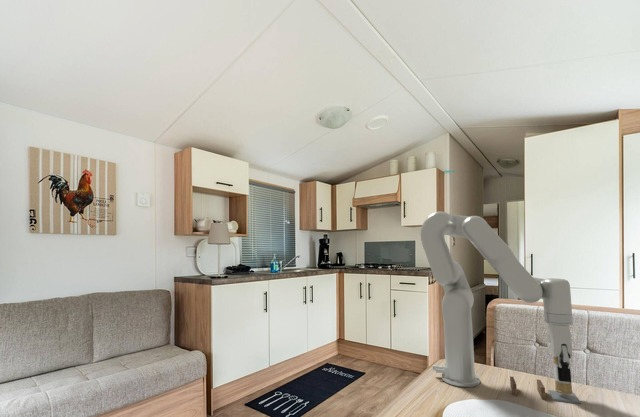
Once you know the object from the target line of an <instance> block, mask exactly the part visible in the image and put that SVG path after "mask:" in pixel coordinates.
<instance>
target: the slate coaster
mask: <svg viewBox="0 0 640 417" xmlns="http://www.w3.org/2000/svg"><path fill="white" fill-rule="evenodd" d="M547 390H548V391H547V392H548V394H549V395H550V397H551V398H552V401H554V402H561V403H568V404H577V405H582V402H581V400H580V399H579V397H577V395H576V393H574V392H573V393H572V394H569V395H566V394H561V393H559V392H557V391H556V390H551V389H547Z"/></svg>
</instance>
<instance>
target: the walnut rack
mask: <svg viewBox="0 0 640 417" xmlns="http://www.w3.org/2000/svg"><path fill="white" fill-rule="evenodd" d="M509 381H510V382H509V384H510V389H511V392H512V395H513V396H514V397H515V396H516V397H517V396H518V392H517V383H516V380H515V377H514V376H509ZM536 390H537V393H538V395H539V396H540V398H541V400H545V401H546V400H547V399H546V387H545V385H544V383H543V382H542V380H541V379H539V378H537V379H536Z"/></svg>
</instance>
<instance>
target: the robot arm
mask: <svg viewBox="0 0 640 417" xmlns="http://www.w3.org/2000/svg"><path fill="white" fill-rule="evenodd" d="M445 236H449V237H450V236H452V237H456V238H457V237H458V238H463V239H467V240H468V241H469V242H470V243H471V244H472V246H474V248H475V249H476V250H477V251H478V252H479V253H480V255H481V256H482V257H483V258H484V260H486V262H487V263H488V265H489V266H490V267H491V268H492V269H493V270H494V271H495V272H496V273H497V274H498V276H499V277H500V278H501V279H502V280H503V282H504V284H506V286H507V287H509V289H510V290H511V291H512V292H513V293H514V294H515V295H516V297H517V298H518V299H519V300H521V301H522V302H524V303H527V304H533V303H534V304H535V303H537V302H539V301H540V300H541V299H542V303H543V316H544V317H543V318H544V323H545V324H546V335H547V337H546V338H547V339H546V342H547V343H546V344H547V345H546V346H547V351H548V352H549V353H550V354H551V356H554V357H558V365H559V367H558V379H559V381H564V382H571V381H572V373H571V372H572V371H571V363H569V360H570V359H571V360H572V358H573V346H572V336H571V328H570V326H573V325H574V320H573V311H572V310H573V309H572V308H573V306H572V294H571V284H570V282H569V281H568V280H567V279H564V278H538V277H534V276H532V274H531V273H530V272H529V271H528V270H527V269H526V267H524V265H522V264H521V262H520V261H519V259H518V258H517V257H516V256H515V254H514V252H513V251H512V249H511V248H510V246H508V244H506V242H505V241H504V239H503V238H501V237H500V236H499V235H498V234H497V233H496V231H495V230H494V229H493V228H492V227H491V225H489V224H488V222H487V221H486V219H485V218H483V217H481V216H478V215H471V216H467V215H459V214H453V213H448V212H445V211H442V210H441V211H435V212H432V213H431V214H429V216H428V217H426V219H425V220H424V221H423V223H422V225H421V228H420V242H421V245H422V248H423V251H424V253H425V255H426V260H427V261H428V264H429V267H430V270H431V272H432V273H431V274H432V277H433V278H434V280H435V282H436V283H437V284H439V285H440V286H442V288H443V290H444V295H443V297H442V300H441V310H442V312H441V313H442V318H443V320H442V321H443V334H444V355H445V358H444V359H445V362H444V365H443V364H441V365H438V364H437V365H436V364H433V365H432V371H434V372H435V373H436V374H437V373H439V374H441V375H440V376H441V380H442V381H443V382H445V383H447V384H448V385H452V386H454V387H455V386H456V387H461V388H472V387H476V386H479V385H480V383H481V379H480V377H479V376H477V375H476V372H475V369H476V368H475V352H474V351H475V350H474V348H475V347H474V335H473V334H474V333H473V319H472V307H473V306H474V303H475V302H474V301H475V300H474V298H475V297H474V294H473V292H472V289H471V286H470V284H469V282H468V279H467V277H466V275H465V274H466V273H465V272H464V269H463V268H462V266H461V264H460V263H459V262H457V261H456V260H455V259H453V256H452V253H451V252H450V248H449V246H448V244H447V242H446V240H445V239H446V238H445ZM568 353H569V355H568ZM560 355H563V357H560ZM561 359H563V360H562V361H561ZM571 383H572V382H571Z"/></svg>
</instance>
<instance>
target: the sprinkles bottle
mask: <svg viewBox="0 0 640 417" xmlns="http://www.w3.org/2000/svg"><path fill="white" fill-rule="evenodd" d="M568 355H569V353H568ZM552 356H553V355H552ZM560 357H563V355H560ZM552 358H553V360H552V361H553V375H554V384H555V385H554V386H555V390H554V391H557V392H559V393H561V394H566V395H569V394H572V393H574V392H573V391H574V390H573V387H572V386H573V384H572V380H571V382H564V381H559V379H558V367H559V365H558V357H554V356H553V357H552ZM562 360H563V359H561V361H562ZM570 362H571V361H570V359H569V363H570ZM570 364H571V363H570Z"/></svg>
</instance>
